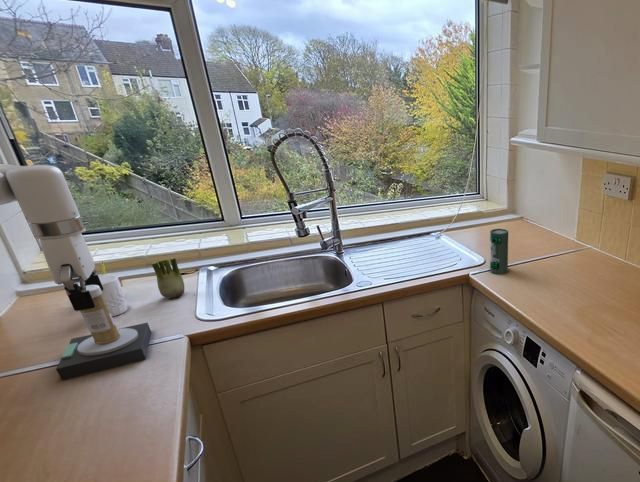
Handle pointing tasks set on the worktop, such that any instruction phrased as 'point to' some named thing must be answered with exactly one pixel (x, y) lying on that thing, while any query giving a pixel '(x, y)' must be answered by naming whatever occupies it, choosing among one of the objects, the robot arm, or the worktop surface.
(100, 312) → the sprinkles bottle
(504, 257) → the can
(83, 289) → the robot arm
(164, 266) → the fennel bulb
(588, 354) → the worktop surface
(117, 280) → the white cup
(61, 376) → the scale
